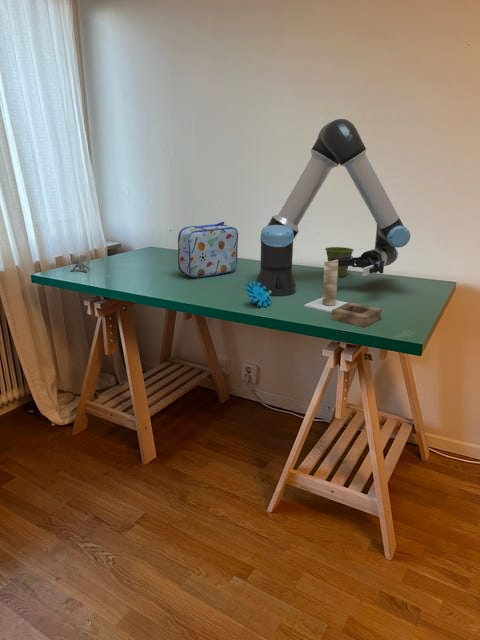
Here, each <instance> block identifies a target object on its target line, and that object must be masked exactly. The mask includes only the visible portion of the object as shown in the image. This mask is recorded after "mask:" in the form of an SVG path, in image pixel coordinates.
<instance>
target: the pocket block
mask: <svg viewBox="0 0 480 640" xmlns="http://www.w3.org/2000/svg"><path fill="white" fill-rule="evenodd" d="M382 312H383V309H382V308H379V307H374V306H371V305H365V304H361V303H360V304H359V303H355V302H351V301H349V302H347V303H346V304H344V305H342V306H340V307H338V308H335V309H333V310H332V313H331V318H330V319H331V320H333V321H337V322H340V323H345V324H350V325H353V326H356V327H357V326H358V327H362V328H367V327H369V326H370V325H372V324H374V323H375V322H377V321H379V320H381V319H382V315H383V314H382Z"/></svg>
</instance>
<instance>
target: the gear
mask: <svg viewBox="0 0 480 640" xmlns="http://www.w3.org/2000/svg"><path fill="white" fill-rule="evenodd" d="M256 282H257V281H251V282H249V283H248V284H247V285H246V286H247V287H246V290H245V291H246V292H248V293H247V297H248V298H251V299H250V300H249V303H250V304H255V303H256V302H258V303H257V306H258V307H263V308H267V307H268V306H270V305H271V304H272V302H271V301H272V299H273V298H272V297H271V295H270V293H271V290H269V291H268V292H266V291H264V290H266V287H265V286H263V287H262V288H260V287H259V286H260V285H261V284H260V283H259V282H258V283H257V287H256V286H255V285H256Z"/></svg>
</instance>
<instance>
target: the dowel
mask: <svg viewBox="0 0 480 640" xmlns="http://www.w3.org/2000/svg"><path fill="white" fill-rule="evenodd" d="M323 264H324V265H323V285H322V286H323V287H322V297H323V303H322V304H323V305H326V306H334V305H336V300H337V290H338V277H337V276H338V262H334V261H328V260H327V261H324V263H323Z"/></svg>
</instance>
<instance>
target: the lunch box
mask: <svg viewBox="0 0 480 640" xmlns="http://www.w3.org/2000/svg"><path fill="white" fill-rule="evenodd" d="M177 235H178V236H177V237H178V238H177V264H178V267H177V268H178V270H179V271H180V273H182V274H184V275H188V276H190V277H192V278H203V277H211V276H217V275H221V274H227V273H232V272H234V271H235V270H236V268H237V266H238V265H237V264H238V256H239V255H238V247H239V246H238V245H239V241H238V240H239V232H238V229H237V228H236V227H234V226H230V225H227V224H225V221H221V222H218V223H215V224H205V225H193V226H192V225H191V226H186V227H183V228H182V229H180V231H179V232H178V234H177Z"/></svg>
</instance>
